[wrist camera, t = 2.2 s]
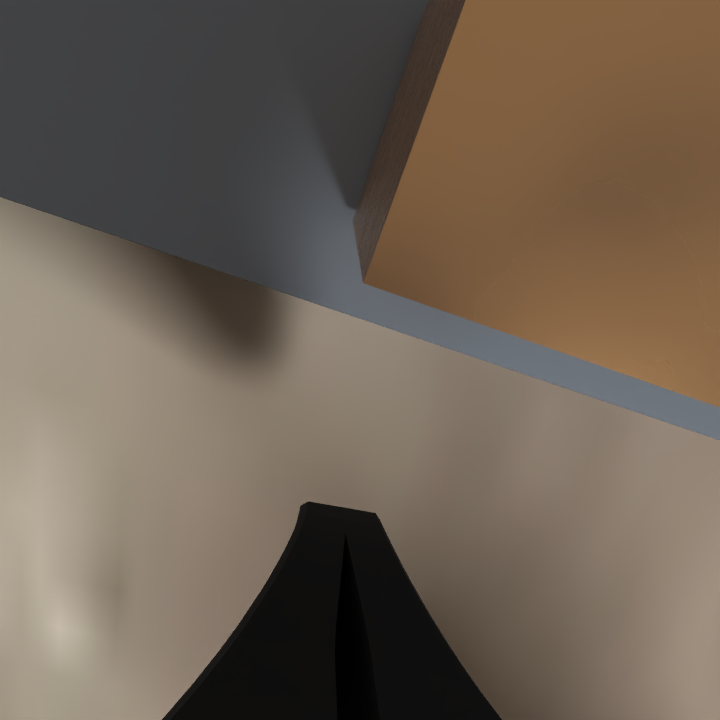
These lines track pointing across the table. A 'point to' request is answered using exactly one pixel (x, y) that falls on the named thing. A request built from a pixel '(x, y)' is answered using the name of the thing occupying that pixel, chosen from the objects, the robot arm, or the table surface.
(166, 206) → the grey slotted board
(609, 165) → the slider
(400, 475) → the table surface
